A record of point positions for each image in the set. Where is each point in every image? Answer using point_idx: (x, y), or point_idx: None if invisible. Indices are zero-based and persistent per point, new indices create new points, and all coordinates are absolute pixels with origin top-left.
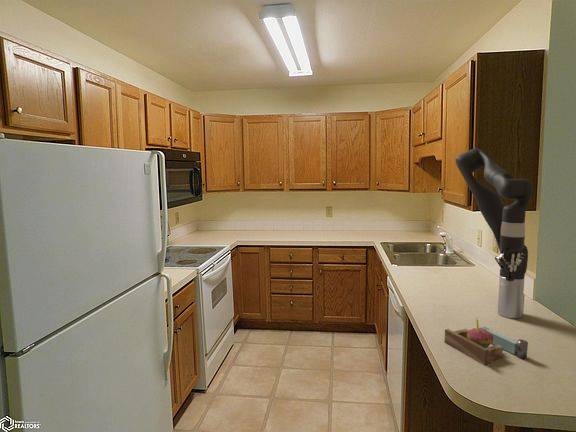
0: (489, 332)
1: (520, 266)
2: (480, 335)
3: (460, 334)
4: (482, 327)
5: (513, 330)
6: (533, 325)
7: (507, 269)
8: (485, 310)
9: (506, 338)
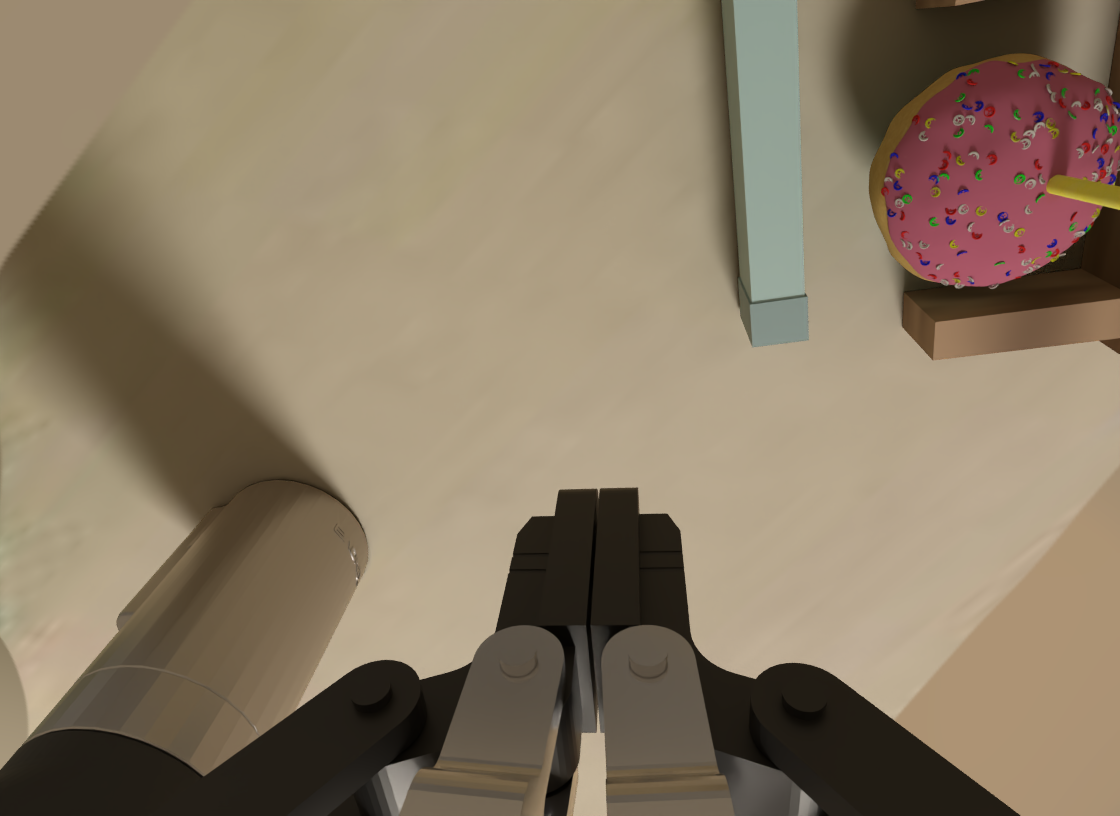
0: (802, 249)
1: (309, 720)
2: (1088, 116)
3: (1040, 302)
4: (787, 336)
5: (444, 343)
6: (246, 370)
7: (817, 684)
8: (410, 624)
9: (770, 98)
